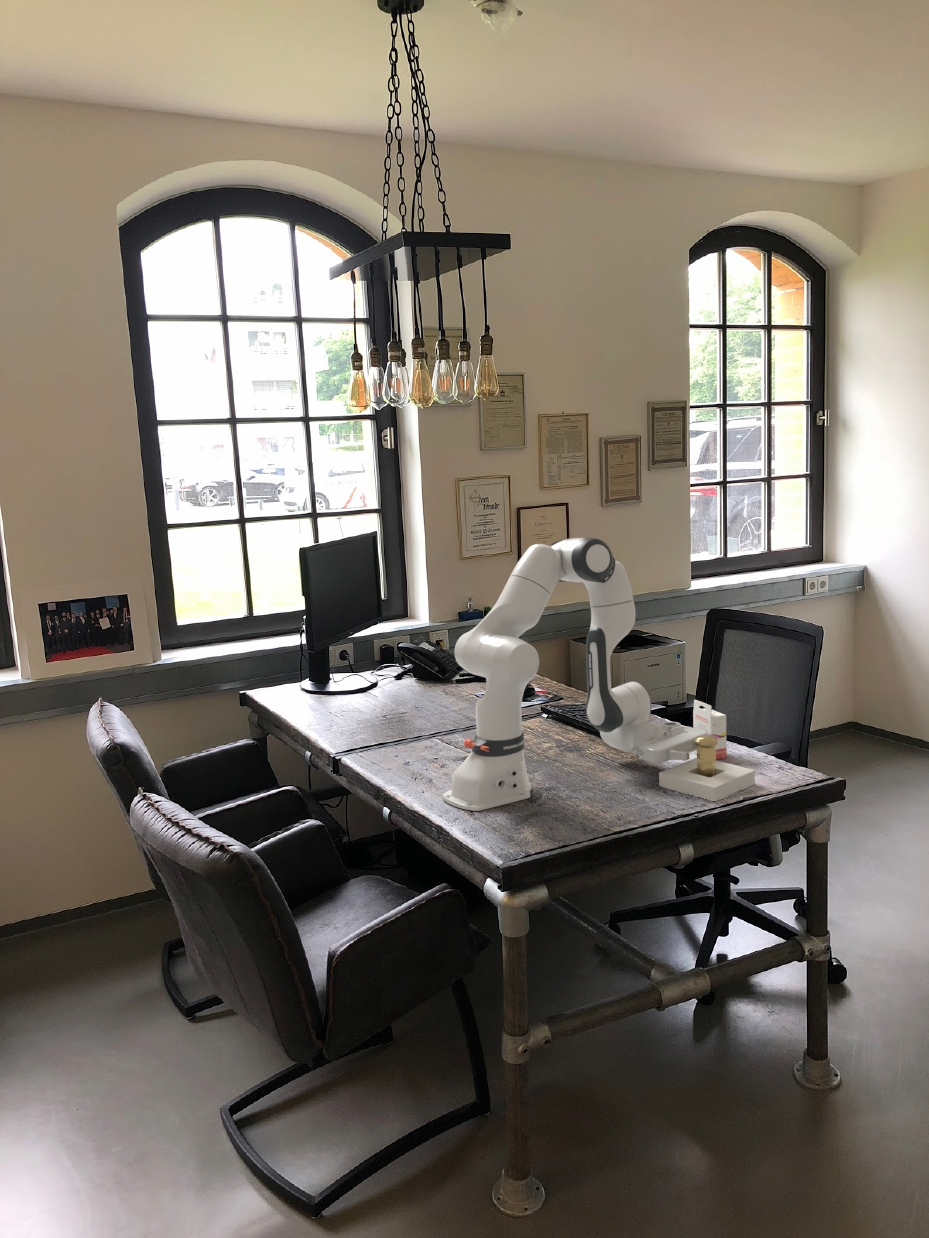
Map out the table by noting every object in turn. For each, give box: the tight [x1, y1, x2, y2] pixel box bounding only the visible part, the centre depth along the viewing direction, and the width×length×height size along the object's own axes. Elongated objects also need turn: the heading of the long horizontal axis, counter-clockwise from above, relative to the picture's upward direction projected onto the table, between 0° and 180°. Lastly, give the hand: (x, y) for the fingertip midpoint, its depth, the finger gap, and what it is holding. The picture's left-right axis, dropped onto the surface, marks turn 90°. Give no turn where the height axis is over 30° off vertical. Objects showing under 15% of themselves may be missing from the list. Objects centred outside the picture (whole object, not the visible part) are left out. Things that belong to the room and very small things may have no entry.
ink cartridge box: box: [692, 699, 728, 761], centre depth 257 cm, size 9×5×15 cm, turn 21°
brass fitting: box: [694, 735, 718, 778], centre depth 236 cm, size 5×5×12 cm
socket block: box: [658, 757, 756, 802], centre depth 237 cm, size 16×16×4 cm
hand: (699, 752), depth 237 cm, fingers open, 8 cm apart
